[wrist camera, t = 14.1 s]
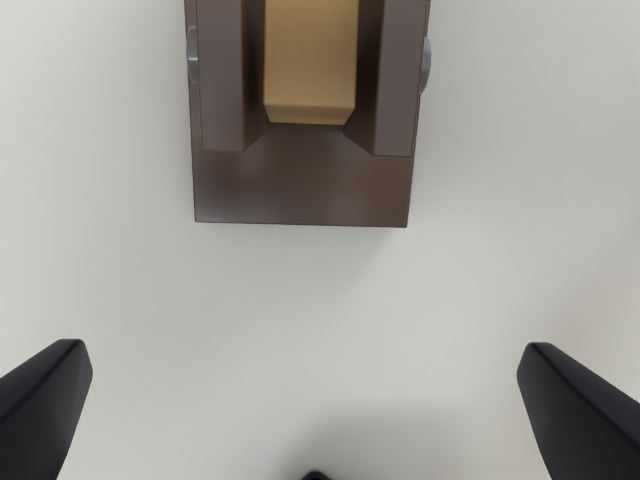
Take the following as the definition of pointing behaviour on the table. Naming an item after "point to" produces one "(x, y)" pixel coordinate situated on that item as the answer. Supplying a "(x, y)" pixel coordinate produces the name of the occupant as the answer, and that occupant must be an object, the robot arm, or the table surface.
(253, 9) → the switch bracket
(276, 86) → the lever
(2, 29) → the table surface
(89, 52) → the table surface
